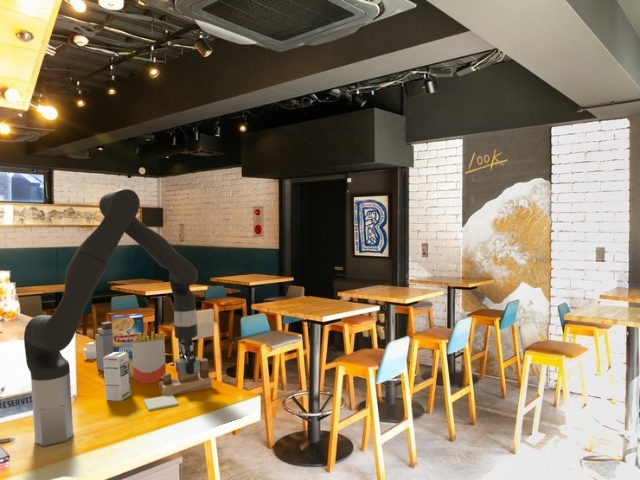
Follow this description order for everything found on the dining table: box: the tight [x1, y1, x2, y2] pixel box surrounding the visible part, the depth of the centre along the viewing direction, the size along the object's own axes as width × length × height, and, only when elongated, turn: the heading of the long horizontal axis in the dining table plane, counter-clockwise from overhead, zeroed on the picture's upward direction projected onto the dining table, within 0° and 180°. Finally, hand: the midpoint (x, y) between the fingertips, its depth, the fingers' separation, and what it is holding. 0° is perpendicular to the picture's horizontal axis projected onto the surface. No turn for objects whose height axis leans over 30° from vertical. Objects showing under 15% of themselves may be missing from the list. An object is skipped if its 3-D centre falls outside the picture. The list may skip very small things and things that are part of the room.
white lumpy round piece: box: [82, 341, 96, 360], centre depth 214 cm, size 6×6×7 cm
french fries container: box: [132, 331, 167, 384], centre depth 183 cm, size 5×11×18 cm, turn 113°
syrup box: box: [103, 352, 132, 402], centre depth 166 cm, size 6×6×14 cm
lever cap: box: [174, 356, 200, 375], centre depth 173 cm, size 5×7×4 cm
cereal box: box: [110, 312, 145, 378], centre depth 191 cm, size 7×11×22 cm, turn 112°
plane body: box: [158, 357, 213, 396], centre depth 173 cm, size 7×16×9 cm, turn 118°
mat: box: [143, 394, 180, 412], centre depth 161 cm, size 9×9×1 cm
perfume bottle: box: [94, 321, 113, 372], centre depth 199 cm, size 7×7×18 cm
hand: (187, 371), depth 173 cm, fingers open, 6 cm apart
